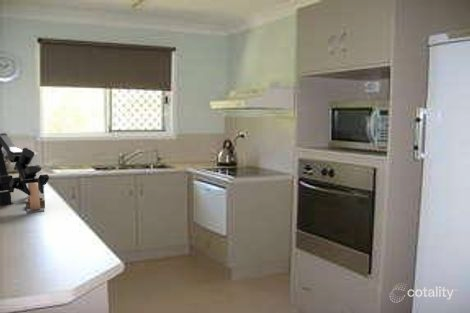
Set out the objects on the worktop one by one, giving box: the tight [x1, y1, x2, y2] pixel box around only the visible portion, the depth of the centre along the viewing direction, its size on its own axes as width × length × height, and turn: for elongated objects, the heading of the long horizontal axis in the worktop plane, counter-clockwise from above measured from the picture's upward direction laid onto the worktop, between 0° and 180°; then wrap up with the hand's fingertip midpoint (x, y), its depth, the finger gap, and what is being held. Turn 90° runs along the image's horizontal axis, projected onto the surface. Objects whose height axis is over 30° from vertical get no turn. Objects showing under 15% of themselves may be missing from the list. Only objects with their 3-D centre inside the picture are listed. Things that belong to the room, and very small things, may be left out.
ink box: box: [27, 183, 45, 199], centre depth 273 cm, size 9×5×12 cm, turn 168°
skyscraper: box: [27, 149, 41, 198], centre depth 284 cm, size 8×8×28 cm
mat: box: [26, 208, 45, 214], centre depth 239 cm, size 8×8×1 cm
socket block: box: [25, 197, 46, 210], centre depth 249 cm, size 9×9×4 cm
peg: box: [27, 183, 40, 210], centre depth 239 cm, size 4×4×13 cm
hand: (36, 194), depth 238 cm, fingers open, 6 cm apart
